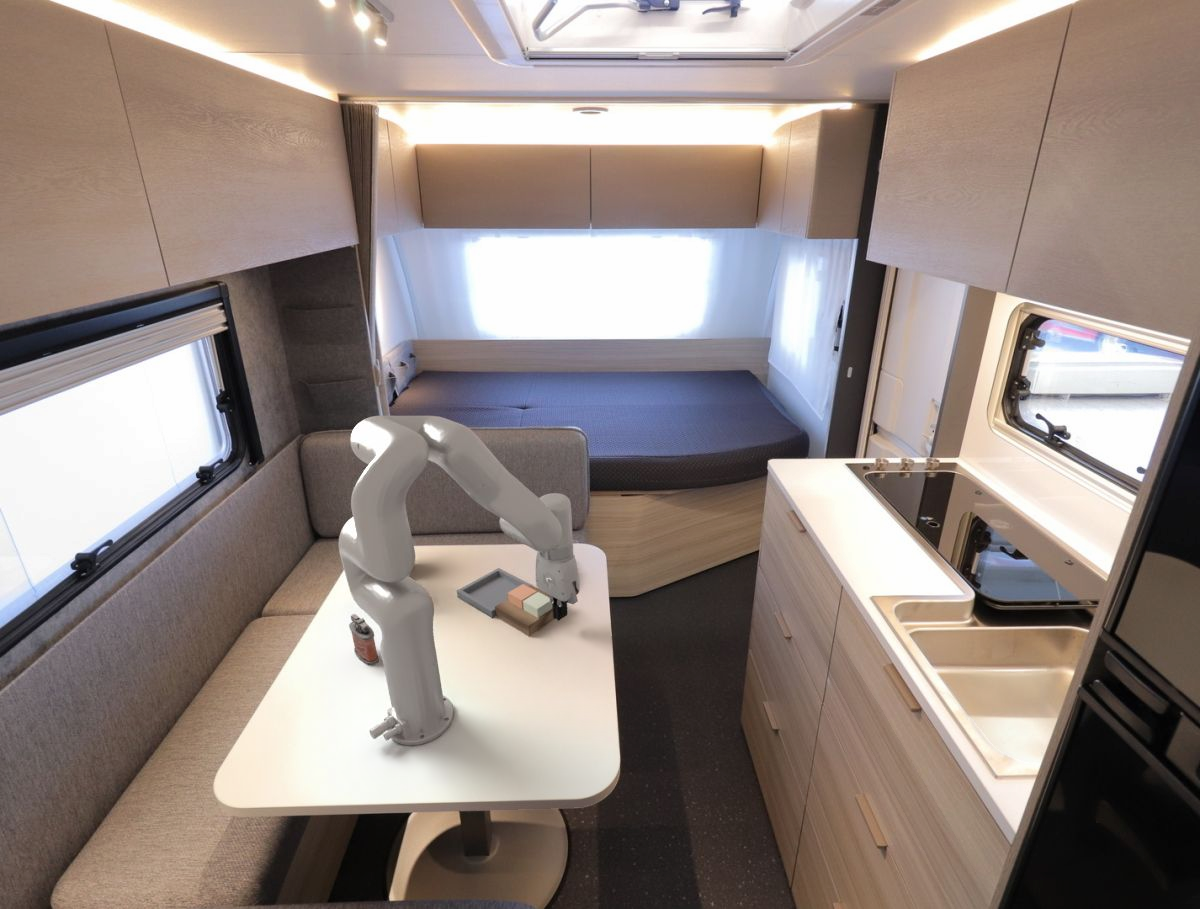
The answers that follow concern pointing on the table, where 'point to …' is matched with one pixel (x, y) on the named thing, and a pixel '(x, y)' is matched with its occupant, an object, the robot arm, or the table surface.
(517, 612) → the brown square slab
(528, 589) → the tile
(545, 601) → the pale green rectangular block
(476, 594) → the tray
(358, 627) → the lighter
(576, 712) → the table surface
